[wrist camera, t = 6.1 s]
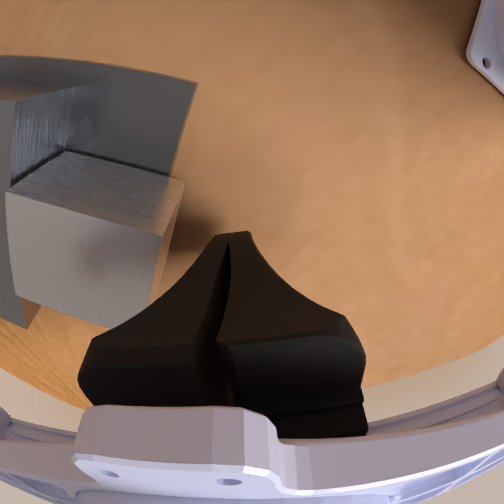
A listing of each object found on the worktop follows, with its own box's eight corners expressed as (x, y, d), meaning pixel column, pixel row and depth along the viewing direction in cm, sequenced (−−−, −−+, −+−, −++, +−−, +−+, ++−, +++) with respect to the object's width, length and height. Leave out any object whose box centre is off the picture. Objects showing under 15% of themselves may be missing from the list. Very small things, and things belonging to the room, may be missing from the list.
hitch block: (198, 83, 10) (174, 90, 6) (142, 311, 15) (123, 376, 12) (-35, 56, 7) (-96, 70, 4) (-34, 249, 13) (-72, 291, 9)
